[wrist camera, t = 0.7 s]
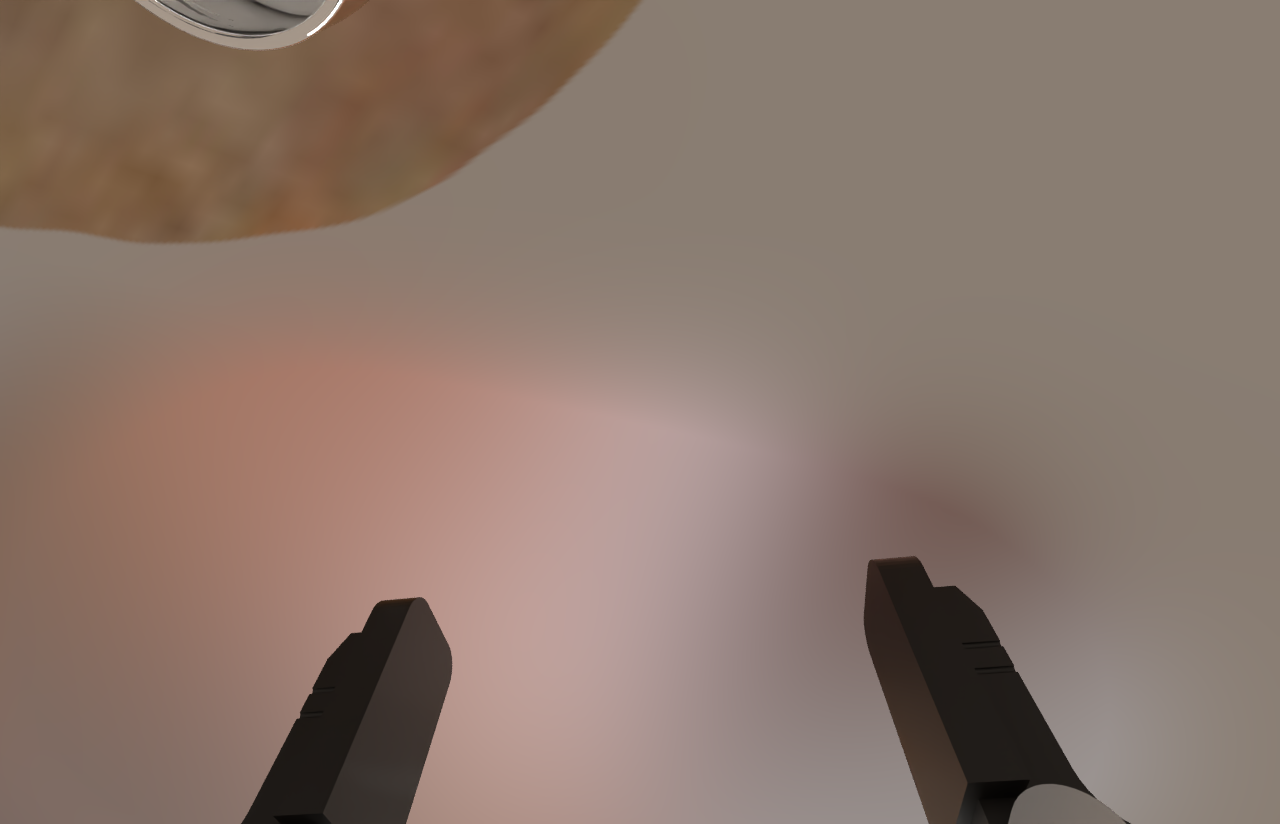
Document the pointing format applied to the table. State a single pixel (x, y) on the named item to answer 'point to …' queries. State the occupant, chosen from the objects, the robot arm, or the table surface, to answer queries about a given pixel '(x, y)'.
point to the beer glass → (252, 19)
